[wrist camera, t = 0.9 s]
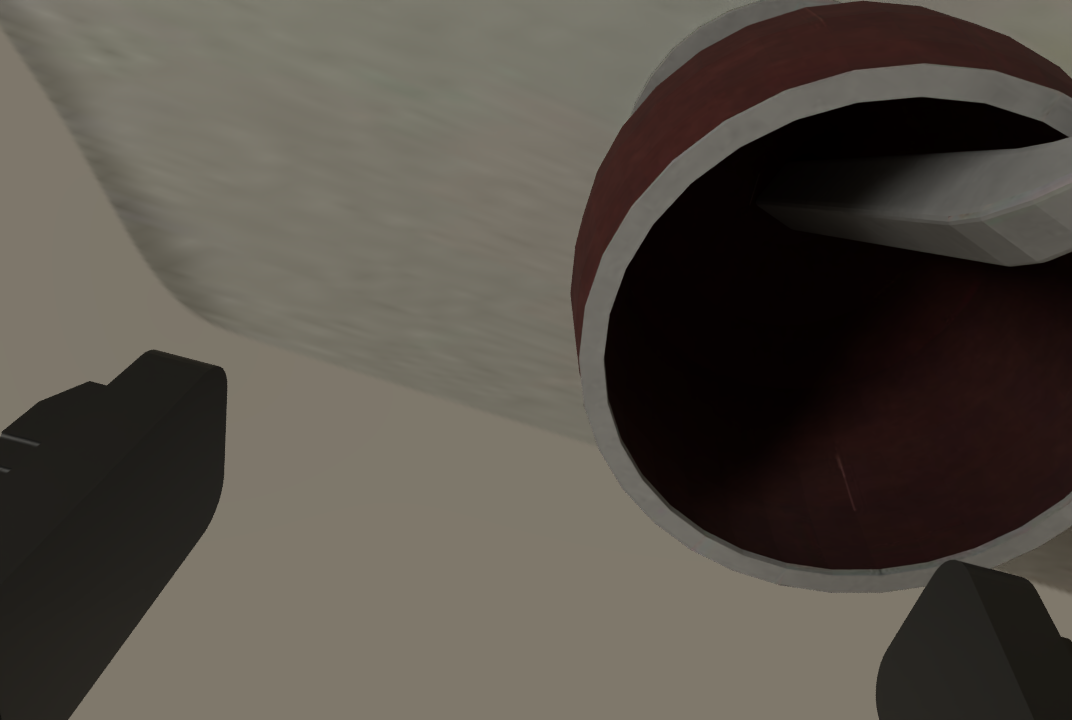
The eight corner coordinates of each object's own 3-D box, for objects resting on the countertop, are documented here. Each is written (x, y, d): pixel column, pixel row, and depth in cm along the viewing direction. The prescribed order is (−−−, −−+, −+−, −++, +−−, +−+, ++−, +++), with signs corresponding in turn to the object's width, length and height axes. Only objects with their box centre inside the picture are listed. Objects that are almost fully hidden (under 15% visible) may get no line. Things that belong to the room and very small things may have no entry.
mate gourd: (797, 379, 38) (914, 786, 20) (536, 206, 36) (415, 495, 18) (1087, 78, 31) (1651, 305, 13) (783, -161, 29) (975, -268, 11)
